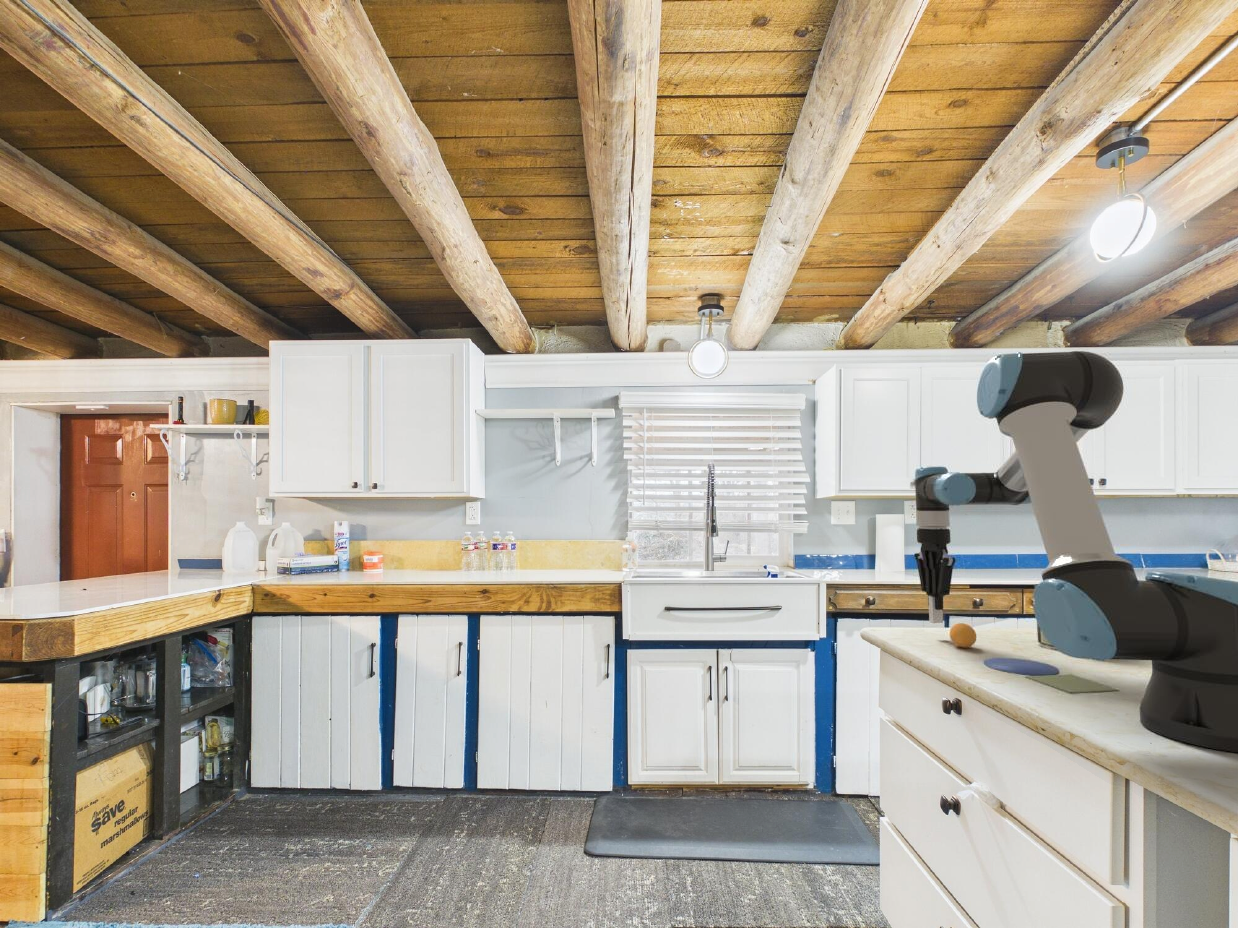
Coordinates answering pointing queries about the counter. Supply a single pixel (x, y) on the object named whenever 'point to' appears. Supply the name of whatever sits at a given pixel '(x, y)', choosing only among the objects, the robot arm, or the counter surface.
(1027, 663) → the disc
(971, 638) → the ball
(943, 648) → the counter surface
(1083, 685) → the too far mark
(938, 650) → the counter surface
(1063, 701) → the counter surface
